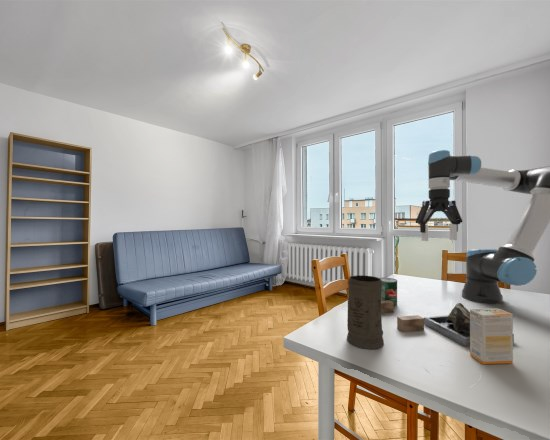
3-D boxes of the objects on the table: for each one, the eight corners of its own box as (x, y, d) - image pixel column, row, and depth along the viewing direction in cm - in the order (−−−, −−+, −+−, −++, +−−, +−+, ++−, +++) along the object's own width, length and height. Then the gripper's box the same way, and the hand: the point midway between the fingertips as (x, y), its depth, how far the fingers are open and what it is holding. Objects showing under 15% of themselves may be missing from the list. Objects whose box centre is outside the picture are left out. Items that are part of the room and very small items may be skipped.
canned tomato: (394, 309, 111) (394, 282, 111) (375, 305, 115) (375, 280, 115) (399, 304, 117) (399, 279, 117) (380, 300, 122) (380, 276, 122)
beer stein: (379, 354, 74) (380, 282, 75) (341, 344, 80) (343, 277, 81) (388, 337, 87) (389, 275, 88) (355, 329, 93) (356, 271, 94)
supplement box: (497, 354, 74) (497, 307, 74) (513, 364, 69) (514, 314, 69) (468, 355, 74) (468, 308, 74) (482, 364, 69) (483, 314, 69)
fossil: (496, 336, 82) (479, 307, 82) (466, 347, 83) (450, 319, 84) (476, 321, 92) (461, 295, 93) (450, 331, 94) (436, 306, 94)
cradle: (389, 309, 110) (389, 300, 110) (424, 330, 90) (424, 318, 90) (371, 311, 108) (371, 301, 108) (402, 331, 89) (402, 320, 89)
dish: (465, 320, 98) (465, 314, 98) (513, 342, 81) (513, 334, 81) (423, 324, 95) (423, 317, 95) (465, 347, 78) (465, 338, 78)
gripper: (418, 187, 104) (419, 241, 105) (472, 188, 109) (472, 240, 109) (406, 189, 112) (406, 240, 112) (457, 190, 116) (457, 238, 117)
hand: (439, 240), depth 111 cm, fingers open, 13 cm apart
